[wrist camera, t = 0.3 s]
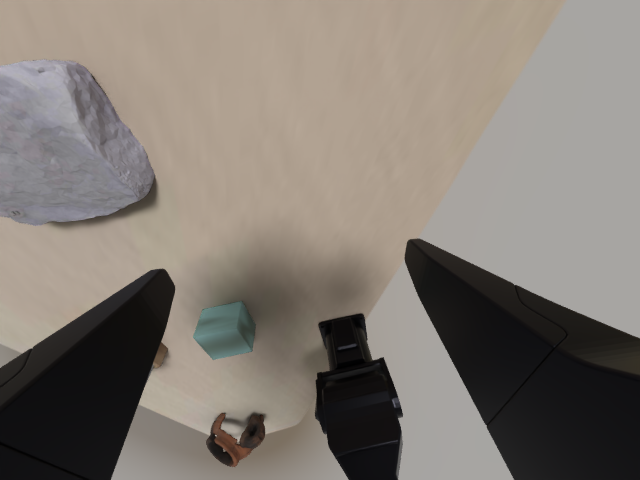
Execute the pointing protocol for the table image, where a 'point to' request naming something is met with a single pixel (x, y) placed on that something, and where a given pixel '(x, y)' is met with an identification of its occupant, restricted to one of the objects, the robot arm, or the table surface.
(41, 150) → the stone block
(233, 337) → the teal block
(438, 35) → the table surface
